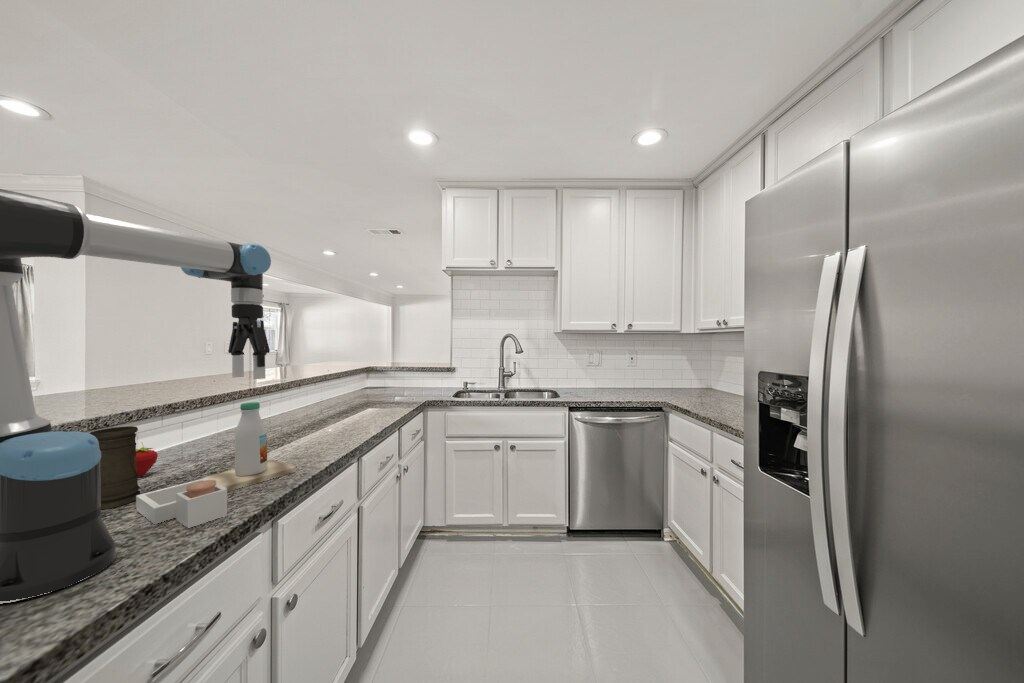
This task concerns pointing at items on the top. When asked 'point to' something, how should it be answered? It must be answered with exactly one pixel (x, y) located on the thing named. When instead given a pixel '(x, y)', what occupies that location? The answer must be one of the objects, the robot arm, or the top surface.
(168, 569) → the top surface
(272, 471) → the ash board
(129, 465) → the container
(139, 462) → the strawberry
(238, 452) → the milk bottle
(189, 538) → the top surface
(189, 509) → the dock
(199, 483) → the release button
